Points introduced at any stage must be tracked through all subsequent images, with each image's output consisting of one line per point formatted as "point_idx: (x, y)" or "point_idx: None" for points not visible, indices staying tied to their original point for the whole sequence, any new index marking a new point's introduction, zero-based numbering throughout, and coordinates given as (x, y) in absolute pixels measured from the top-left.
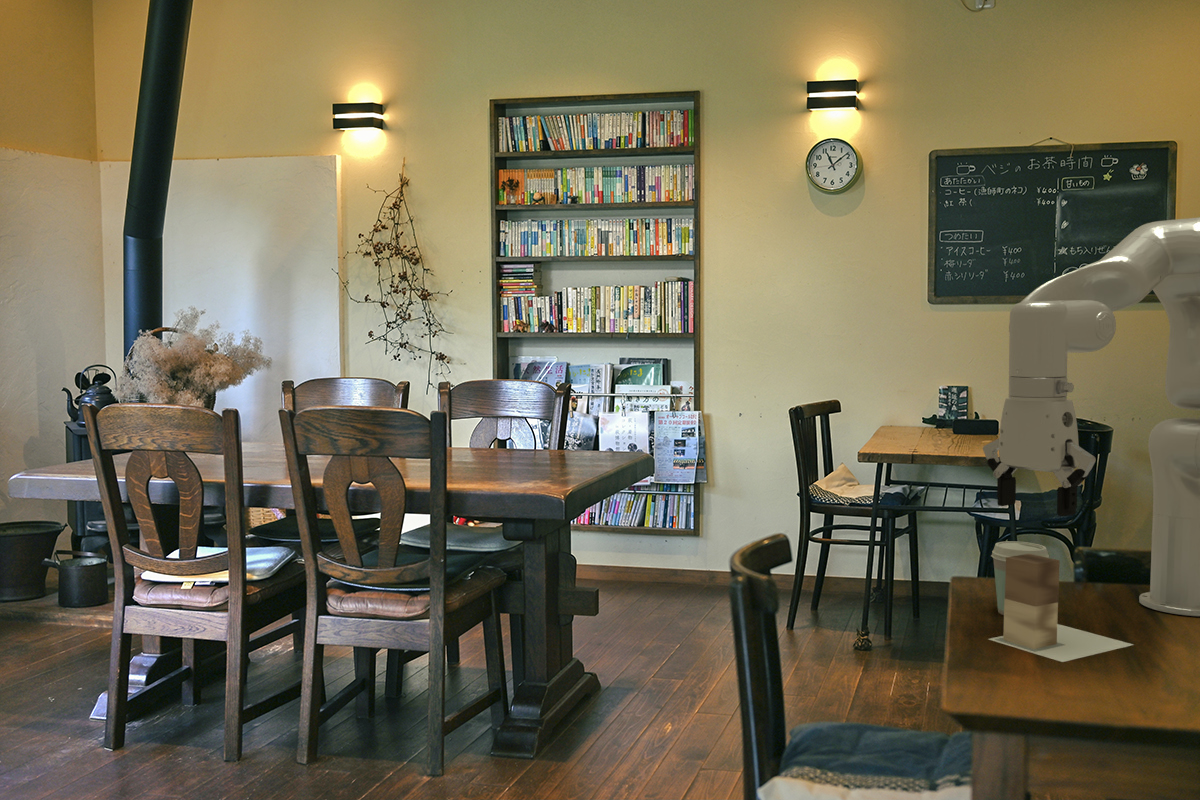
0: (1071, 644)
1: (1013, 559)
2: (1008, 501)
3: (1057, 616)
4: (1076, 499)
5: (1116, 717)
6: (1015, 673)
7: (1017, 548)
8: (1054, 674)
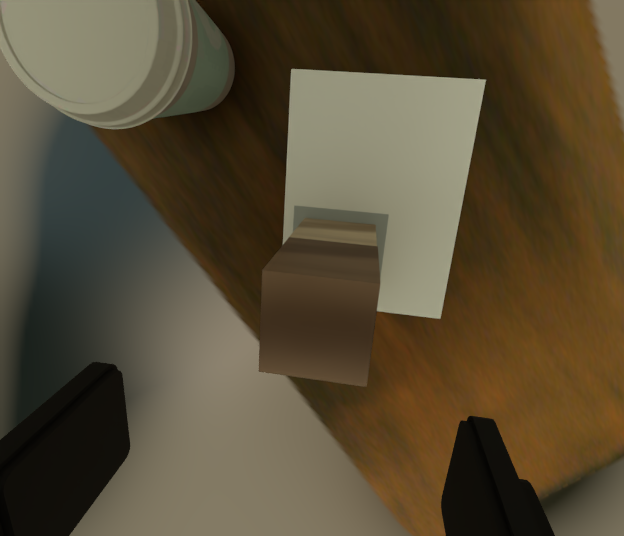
0: (394, 200)
1: (285, 374)
2: (116, 426)
3: (376, 238)
4: (549, 530)
5: (593, 440)
6: (393, 377)
7: (88, 54)
8: (437, 336)
